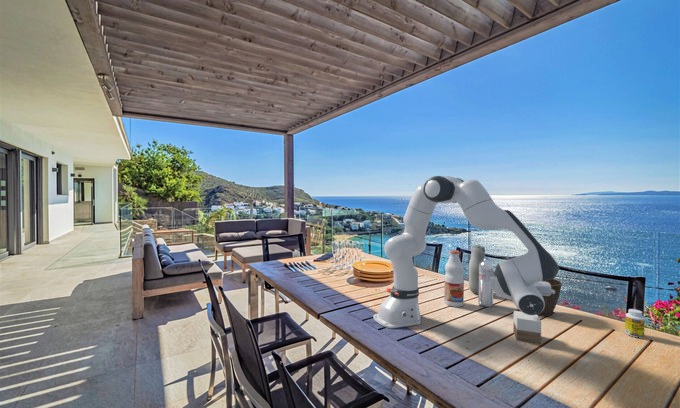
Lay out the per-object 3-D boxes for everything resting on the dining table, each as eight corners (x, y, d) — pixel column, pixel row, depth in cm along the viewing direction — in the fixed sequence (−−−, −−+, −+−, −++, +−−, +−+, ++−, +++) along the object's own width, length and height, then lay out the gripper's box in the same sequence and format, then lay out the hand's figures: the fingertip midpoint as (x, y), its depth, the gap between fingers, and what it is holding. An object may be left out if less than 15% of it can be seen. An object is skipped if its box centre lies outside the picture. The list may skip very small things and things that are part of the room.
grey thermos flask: (488, 292, 171) (488, 244, 170) (486, 297, 162) (486, 247, 161) (469, 289, 176) (470, 243, 175) (467, 294, 167) (467, 245, 166)
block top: (540, 333, 112) (541, 321, 112) (516, 329, 115) (517, 318, 115) (536, 324, 120) (536, 313, 119) (513, 321, 123) (513, 310, 123)
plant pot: (524, 315, 138) (525, 282, 137) (522, 305, 151) (522, 274, 151) (564, 322, 131) (564, 287, 130) (557, 310, 144) (558, 278, 144)
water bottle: (494, 308, 147) (495, 259, 146) (480, 307, 149) (481, 258, 148) (490, 303, 154) (491, 256, 153) (476, 302, 155) (477, 255, 154)
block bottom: (540, 344, 112) (540, 333, 112) (516, 340, 115) (516, 329, 115) (535, 335, 120) (536, 324, 120) (513, 331, 123) (513, 321, 123)
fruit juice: (453, 299, 160) (454, 248, 158) (467, 305, 151) (468, 251, 150) (440, 302, 156) (440, 250, 155) (453, 308, 147) (454, 253, 146)
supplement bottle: (630, 337, 117) (631, 312, 117) (621, 331, 122) (622, 307, 122) (647, 339, 115) (648, 314, 115) (638, 333, 121) (639, 308, 120)
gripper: (557, 284, 102) (546, 275, 115) (491, 279, 110) (488, 270, 123) (556, 302, 103) (546, 290, 115) (491, 295, 111) (488, 285, 123)
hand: (516, 280), depth 119 cm, fingers closed on tall block, 5 cm apart
